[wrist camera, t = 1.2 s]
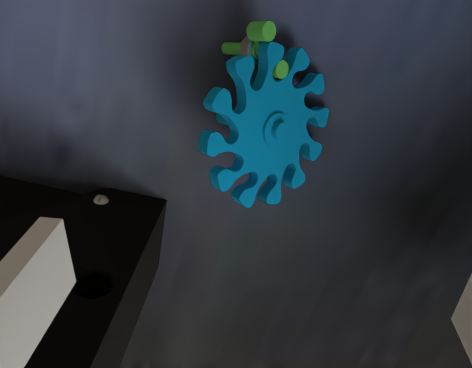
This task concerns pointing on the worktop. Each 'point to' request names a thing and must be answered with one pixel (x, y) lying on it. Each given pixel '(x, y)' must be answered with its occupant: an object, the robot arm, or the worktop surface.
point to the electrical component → (90, 266)
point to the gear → (263, 117)
